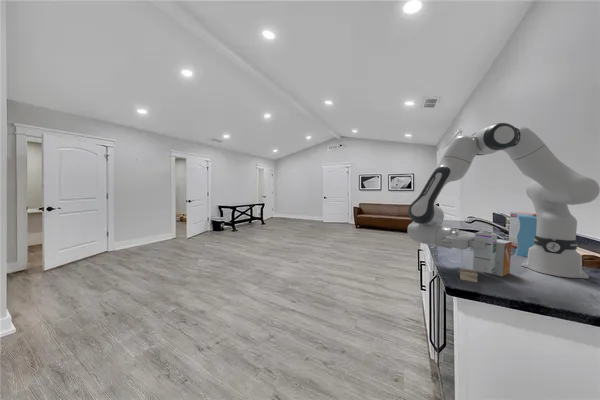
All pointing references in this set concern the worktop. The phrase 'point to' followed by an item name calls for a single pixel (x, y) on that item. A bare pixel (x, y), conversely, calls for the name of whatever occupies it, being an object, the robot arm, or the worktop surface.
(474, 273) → the maple block
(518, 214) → the cracker box
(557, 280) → the worktop surface
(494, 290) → the worktop surface
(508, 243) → the small box
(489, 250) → the syrup box
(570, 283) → the worktop surface
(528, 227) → the vase
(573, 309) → the worktop surface
